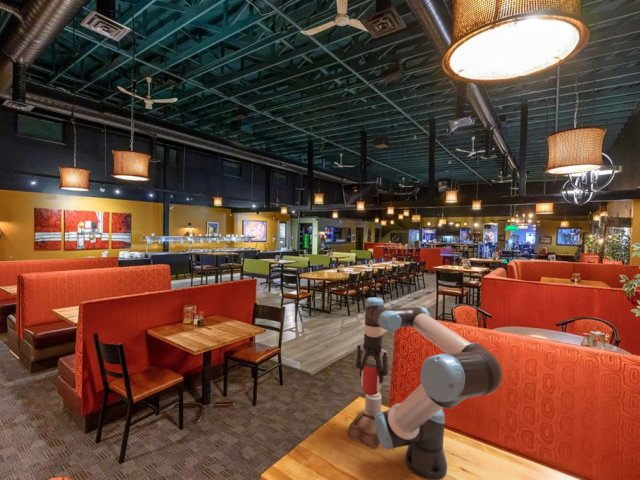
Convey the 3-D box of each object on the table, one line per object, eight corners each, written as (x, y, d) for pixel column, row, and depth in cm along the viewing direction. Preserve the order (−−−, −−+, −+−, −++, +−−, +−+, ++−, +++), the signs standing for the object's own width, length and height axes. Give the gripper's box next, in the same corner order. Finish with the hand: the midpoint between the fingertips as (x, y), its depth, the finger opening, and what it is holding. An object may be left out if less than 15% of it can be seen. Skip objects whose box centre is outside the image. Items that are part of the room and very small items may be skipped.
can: (364, 411, 154) (365, 387, 154) (380, 413, 153) (381, 388, 153) (364, 420, 147) (365, 395, 146) (381, 422, 146) (382, 397, 145)
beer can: (377, 396, 132) (379, 368, 131) (362, 394, 133) (363, 366, 133) (378, 389, 138) (379, 362, 138) (363, 387, 140) (364, 360, 139)
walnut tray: (388, 432, 139) (389, 420, 138) (376, 449, 128) (377, 436, 128) (361, 421, 146) (362, 410, 146) (348, 436, 135) (348, 424, 135)
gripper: (398, 337, 133) (395, 390, 134) (356, 327, 144) (354, 377, 144) (391, 342, 126) (389, 398, 127) (348, 331, 137) (346, 383, 138)
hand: (370, 387), depth 136 cm, fingers closed on beer can, 6 cm apart
